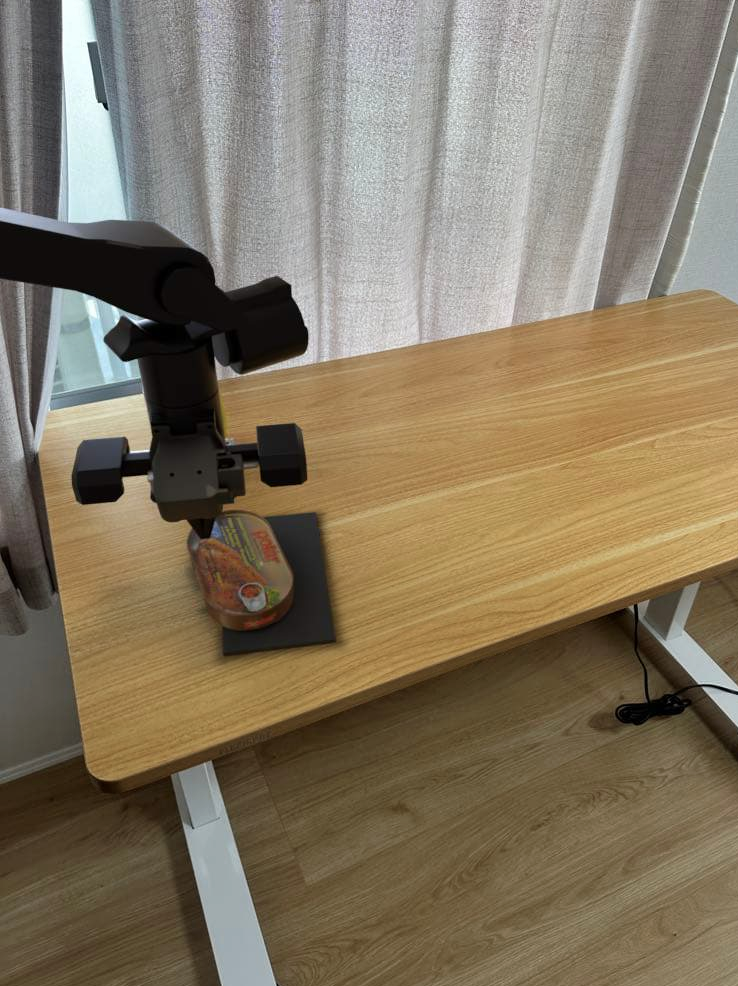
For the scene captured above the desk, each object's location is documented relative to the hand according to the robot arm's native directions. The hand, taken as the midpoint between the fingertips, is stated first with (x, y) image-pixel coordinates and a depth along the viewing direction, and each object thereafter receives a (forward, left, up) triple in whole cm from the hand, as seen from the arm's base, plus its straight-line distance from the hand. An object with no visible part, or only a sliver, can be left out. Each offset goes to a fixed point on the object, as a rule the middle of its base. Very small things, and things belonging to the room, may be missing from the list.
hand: (205, 536), depth 73 cm
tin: (-2, 0, -6) cm, 6 cm away
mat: (+6, +1, -7) cm, 9 cm away
